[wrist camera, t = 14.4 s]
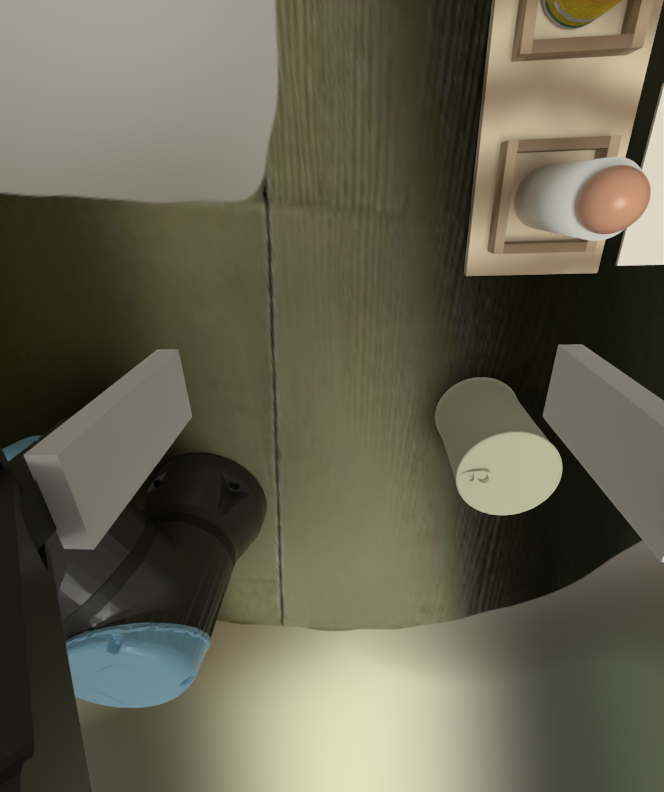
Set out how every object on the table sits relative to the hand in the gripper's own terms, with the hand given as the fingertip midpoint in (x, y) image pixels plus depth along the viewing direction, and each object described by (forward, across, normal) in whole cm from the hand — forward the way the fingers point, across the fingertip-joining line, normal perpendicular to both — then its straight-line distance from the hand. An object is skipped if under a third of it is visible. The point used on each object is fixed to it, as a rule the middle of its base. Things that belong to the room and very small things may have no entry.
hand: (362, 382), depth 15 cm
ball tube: (+28, +16, +5) cm, 32 cm away
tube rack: (+29, +16, +12) cm, 35 cm away
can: (+29, +13, -17) cm, 36 cm away
